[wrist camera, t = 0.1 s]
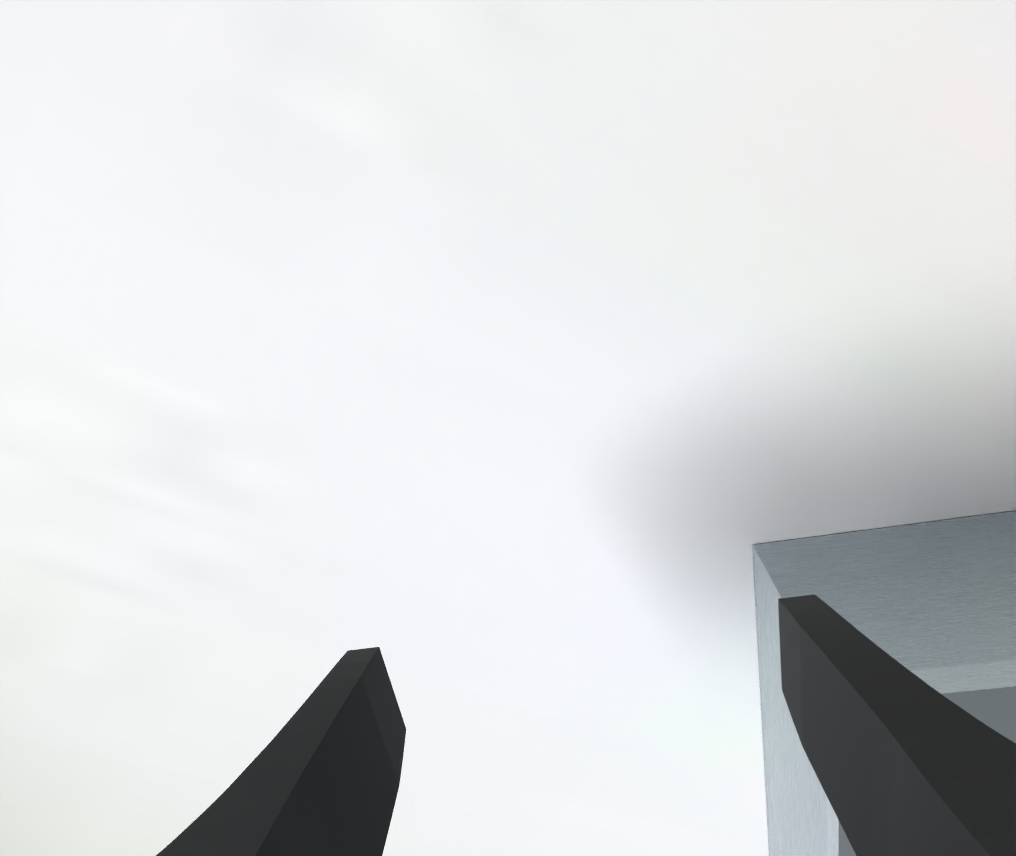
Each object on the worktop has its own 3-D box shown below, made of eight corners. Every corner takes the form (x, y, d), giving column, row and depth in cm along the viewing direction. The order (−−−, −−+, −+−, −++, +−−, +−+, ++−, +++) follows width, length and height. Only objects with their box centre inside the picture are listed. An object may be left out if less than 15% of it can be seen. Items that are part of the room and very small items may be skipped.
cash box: (1063, 868, 28) (1224, 1086, 21) (771, 889, 29) (837, 1100, 22) (1137, 495, 21) (1404, 647, 14) (752, 544, 22) (838, 703, 16)
